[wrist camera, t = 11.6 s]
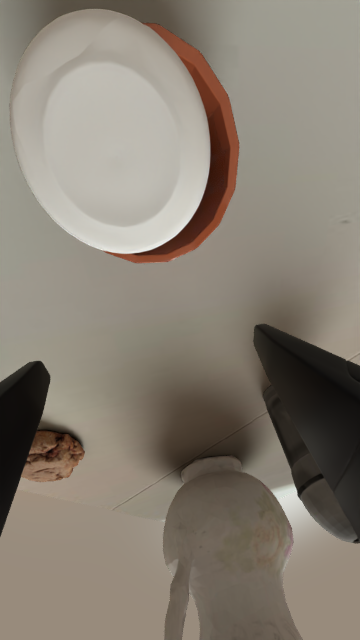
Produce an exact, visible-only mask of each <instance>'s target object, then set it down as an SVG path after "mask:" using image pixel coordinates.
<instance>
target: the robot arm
mask: <svg viewBox="0 0 360 640" xmlns="http://www.w3.org/2000/svg"><path fill="white" fill-rule="evenodd" d="M253 342H254V346H255V349H256V351H257V353H258V356H259V358H260V361H261V363H262V366H263V368H264V370H265V373H266V375H267V377H268V379H269V381H270V382H271V384H272V386H273V388H274V390H275V391H276V393H277V395H278V397H279V398H280V400H281V402H282V404H283V405H284V407H285V409H286V411H287V413H288V414H289V416H290V418H291V420H292V421H293V423H294V425H295V427H296V429H297V430H298V432H299V434H300V436H301V437H302V439H303V441H304V443H305V445H306V446H307V448H308V450H309V452H310V453H311V455H312V457H313V459H314V460H315V462H316V464H317V466H318V468H319V469H320V471H321V473H322V475H323V476H324V478H325V480H326V482H327V484H328V485H329V487H330V489H331V491H332V492H333V495H334V496H335V498H336V500H337V502H338V503H339V505H340V507H341V509H342V510H343V512H344V514H345V516H346V518H347V519H348V521H349V523H350V525H351V526H352V528H353V530H354V532H355V534H356V535H357V537H358V539H359V541H360V366H359V365H357V364H355V363H352V362H350V361H346V360H345V359H343V358H341V357H339V356H337V355H334V354H332V353H330V352H328V351H325V350H323V349H321V348H319V347H316V346H314V345H312V344H310V343H307V342H305V341H303V340H301V339H298V338H296V337H294V336H292V335H289V334H287V333H285V332H283V331H280V330H278V329H276V328H274V327H271V326H269V325H267V324H259V325H256V326H255V327H254V339H253ZM49 384H50V375H49V373H48V371H47V369H46V368H45V366H44V364H43V363H42V362H41V361H33V362H29V363H27V364H26V365H24V366H23V367H22V368H20V369H19V370H17V371H16V372H14V373H13V374H11V375H10V376H9V377H7V378H6V379H4V380H3V381H1V382H0V536H1V533H2V530H3V527H4V525H5V522H6V518H7V516H8V513H9V510H10V507H11V504H12V501H13V499H14V496H15V493H16V490H17V487H18V484H19V481H20V478H21V475H22V472H23V470H24V467H25V464H26V461H27V458H28V455H29V452H30V449H31V446H32V443H33V441H34V438H35V435H36V432H37V429H38V426H39V423H40V420H41V417H42V414H43V410H44V406H45V401H46V397H47V393H48V388H49Z"/></svg>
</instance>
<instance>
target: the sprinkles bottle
mask: <svg viewBox="0 0 360 640" xmlns="http://www.w3.org/2000/svg"><path fill="white" fill-rule="evenodd" d="M10 126H11V134H12V140H13V144H14V149H15V153H16V156H17V159H18V162H19V165H20V168H21V171H22V173H23V175H24V177H25V180H26V182H27V183H28V185H29V187H30V189H31V191H32V192H33V194H34V196H35V198H36V199H37V200H38V202H39V203H40V205H41V206H42V207H43V208H44V210H45V211H46V212H47V213H48V214H49V216H50V217H51V218H52V219H53V220H54V221H55V222H56V223H57V224H58V225H59V226H61V227H62V228H63V229H64V230H65V231H67V232H68V233H69V234H70V235H72V236H74V237H75V238H77V239H78V240H80V241H82V242H84V243H86V244H88V245H90V246H92V247H94V248H97V249H100V250H104V251H108V252H112V253H121V254H132V253H140V252H144V251H148V250H152V249H154V248H157V247H159V246H161V245H163V244H164V243H166V242H168V241H169V240H171V239H172V238H173V237H175V236H176V235H177V234H178V233H179V232H180V231H181V230H182V229H183V228H184V227H185V226H186V225H187V224H188V222H189V221H190V220H191V218H192V217H193V215H194V213H195V212H196V210H197V208H198V206H199V204H200V202H201V200H202V197H203V194H204V191H205V188H206V184H207V180H208V175H209V168H210V134H209V127H208V121H207V116H206V112H205V109H204V105H203V102H202V100H201V97H200V94H199V91H198V89H197V87H196V85H195V83H194V80H193V78H192V76H191V75H190V73H189V71H188V70H187V68H186V66H185V65H184V64H183V62H182V61H181V59H180V58H179V56H178V55H177V54H176V52H175V51H174V50H173V49H172V48H171V47H170V46H169V45H168V44H167V43H166V42H165V41H164V40H163V39H162V38H161V37H160V36H159V35H158V34H157V33H156V32H155V31H154V30H152V29H151V28H150V27H148V26H146V25H144V24H142V23H141V22H139V21H138V20H136V19H134V18H132V17H130V16H128V15H125V14H122V13H119V12H115V11H111V10H106V9H84V10H79V11H74V12H71V13H68V14H65V15H62V16H60V17H58V18H56V19H55V20H53V21H52V22H51V23H50V24H48V25H46V26H45V27H44V28H43V29H42V30H41V31H40V32H39V33H38V34H37V35H36V36H35V37H34V39H33V40H32V41H31V42H30V44H29V45H28V47H27V48H26V50H25V52H24V53H23V55H22V57H21V59H20V61H19V64H18V67H17V70H16V73H15V77H14V80H13V85H12V90H11V96H10Z"/></svg>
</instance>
